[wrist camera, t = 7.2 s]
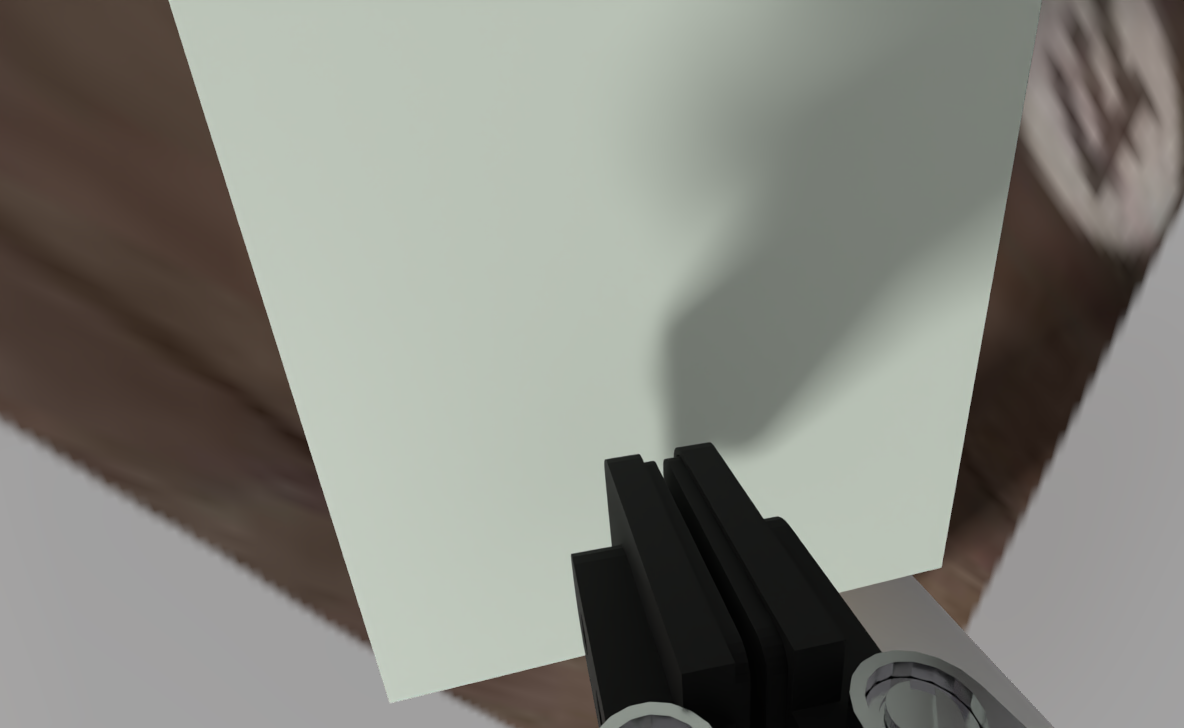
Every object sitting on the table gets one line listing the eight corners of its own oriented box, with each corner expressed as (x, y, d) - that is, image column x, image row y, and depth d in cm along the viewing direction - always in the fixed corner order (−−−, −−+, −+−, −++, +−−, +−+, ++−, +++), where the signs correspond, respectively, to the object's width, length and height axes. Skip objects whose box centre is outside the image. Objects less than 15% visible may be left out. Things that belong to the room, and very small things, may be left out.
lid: (-41, -761, 6) (-110, -882, 5) (1101, -638, 8) (1167, -712, 7) (392, 670, 13) (389, 703, 13) (917, 545, 15) (941, 567, 15)
